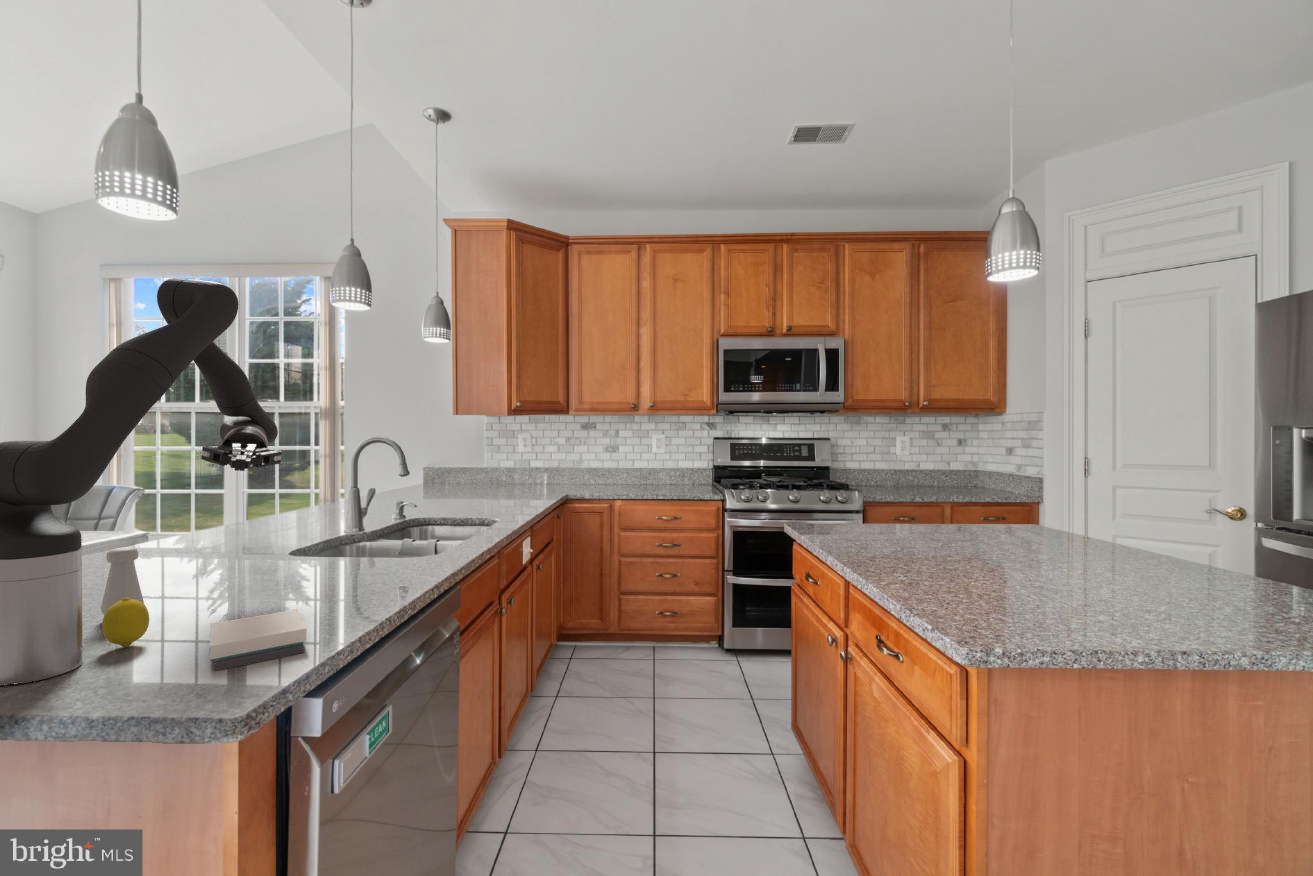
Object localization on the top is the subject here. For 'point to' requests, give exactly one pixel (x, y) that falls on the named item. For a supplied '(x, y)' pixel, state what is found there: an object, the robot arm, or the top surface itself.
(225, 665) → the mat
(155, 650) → the top surface
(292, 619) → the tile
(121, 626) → the lemon
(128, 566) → the salt shaker
